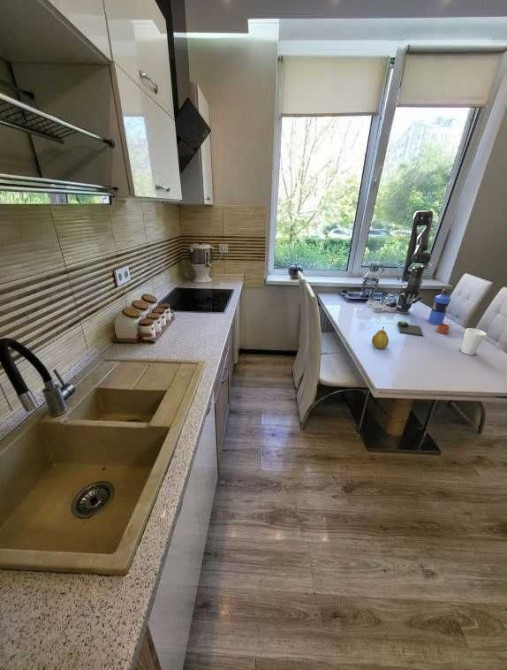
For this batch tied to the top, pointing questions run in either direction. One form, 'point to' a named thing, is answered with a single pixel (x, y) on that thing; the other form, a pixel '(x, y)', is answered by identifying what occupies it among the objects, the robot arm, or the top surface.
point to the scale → (409, 329)
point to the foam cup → (472, 340)
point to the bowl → (443, 328)
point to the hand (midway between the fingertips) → (407, 308)
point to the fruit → (380, 339)
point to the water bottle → (439, 308)
